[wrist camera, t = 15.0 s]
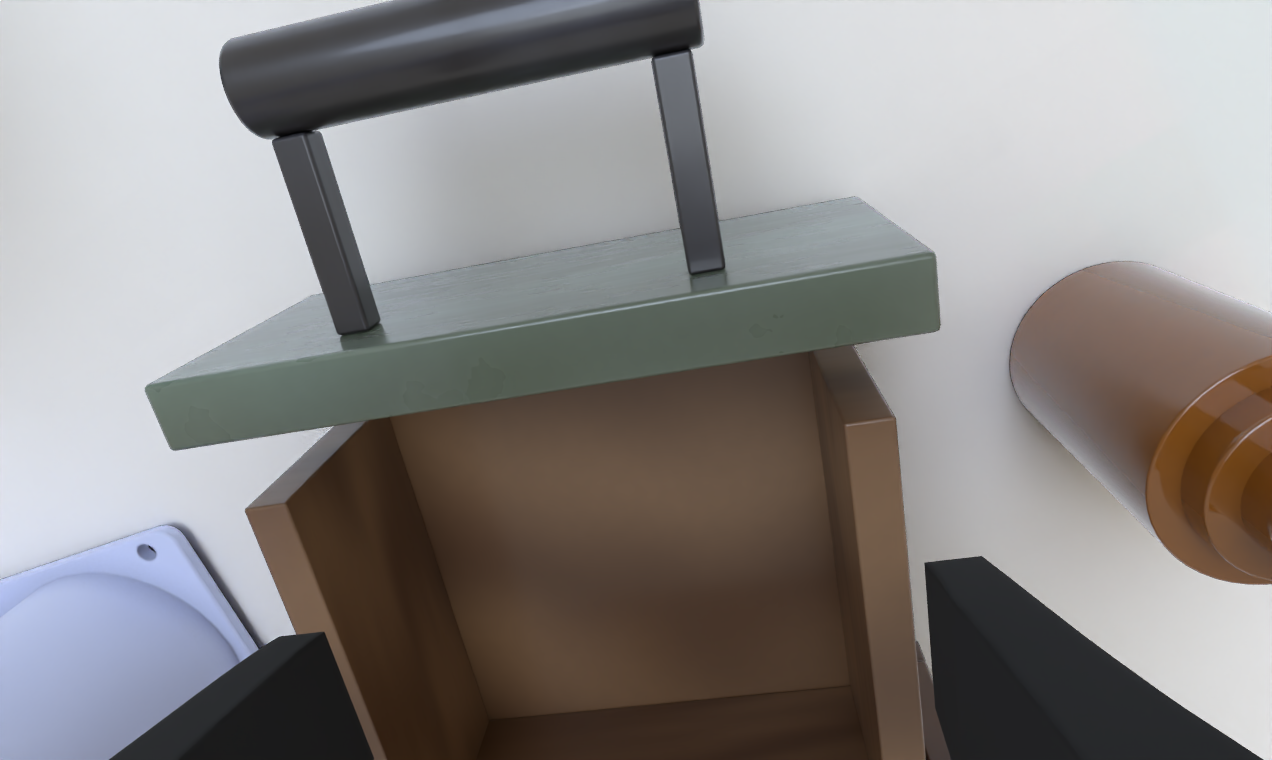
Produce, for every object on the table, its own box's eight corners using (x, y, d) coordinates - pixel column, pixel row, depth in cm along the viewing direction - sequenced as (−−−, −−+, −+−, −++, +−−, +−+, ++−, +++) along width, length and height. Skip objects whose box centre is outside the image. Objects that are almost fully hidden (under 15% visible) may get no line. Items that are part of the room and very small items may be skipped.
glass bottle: (1029, 456, 19) (1267, 725, 11) (991, 298, 18) (1229, 474, 10) (1215, 403, 18) (1618, 654, 10) (1189, 233, 17) (1629, 367, 9)
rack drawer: (234, 77, 16) (1, 75, 11) (833, -60, 15) (912, -144, 9) (456, 716, 22) (377, 922, 17) (903, 673, 20) (977, 886, 15)
